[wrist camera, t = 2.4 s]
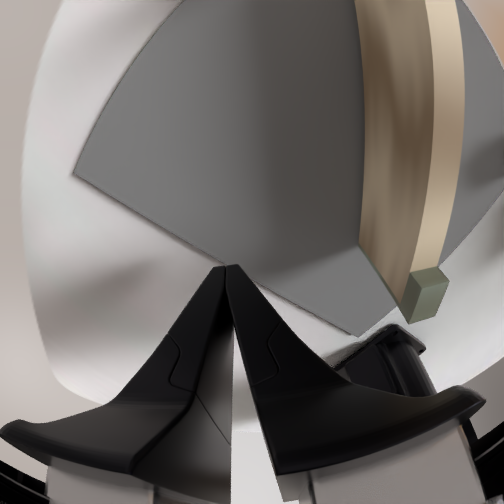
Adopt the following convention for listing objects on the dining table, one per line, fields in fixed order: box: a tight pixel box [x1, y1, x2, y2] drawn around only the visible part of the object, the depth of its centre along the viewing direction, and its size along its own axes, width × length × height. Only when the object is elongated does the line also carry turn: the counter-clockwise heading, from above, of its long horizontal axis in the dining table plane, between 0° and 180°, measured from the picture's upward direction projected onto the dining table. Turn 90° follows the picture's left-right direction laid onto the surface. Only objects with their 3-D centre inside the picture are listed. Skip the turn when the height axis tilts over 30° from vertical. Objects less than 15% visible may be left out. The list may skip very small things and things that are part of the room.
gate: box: [354, 0, 465, 324], centre depth 7 cm, size 12×1×5 cm, turn 6°
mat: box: [74, 0, 504, 337], centre depth 9 cm, size 18×18×1 cm
